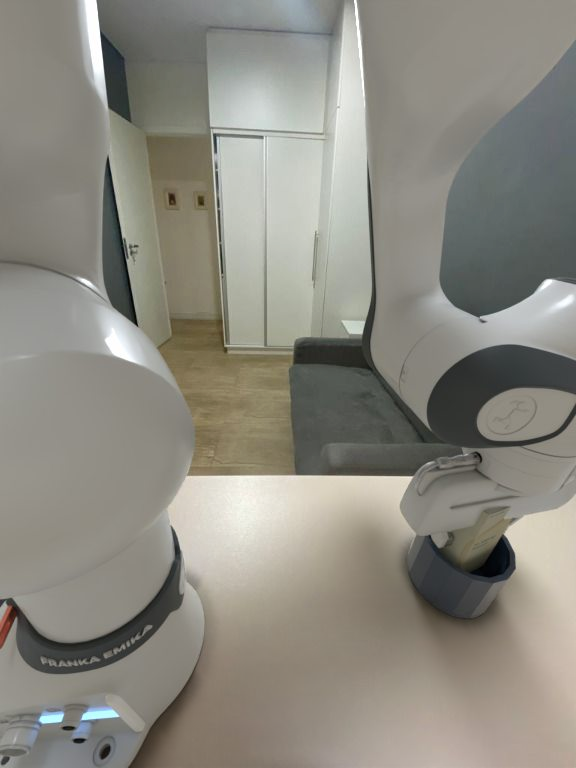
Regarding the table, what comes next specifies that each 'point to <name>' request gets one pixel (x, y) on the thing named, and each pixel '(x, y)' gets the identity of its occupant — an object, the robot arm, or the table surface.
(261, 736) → the table surface
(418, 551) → the blue round bowl
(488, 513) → the cosmetic box
